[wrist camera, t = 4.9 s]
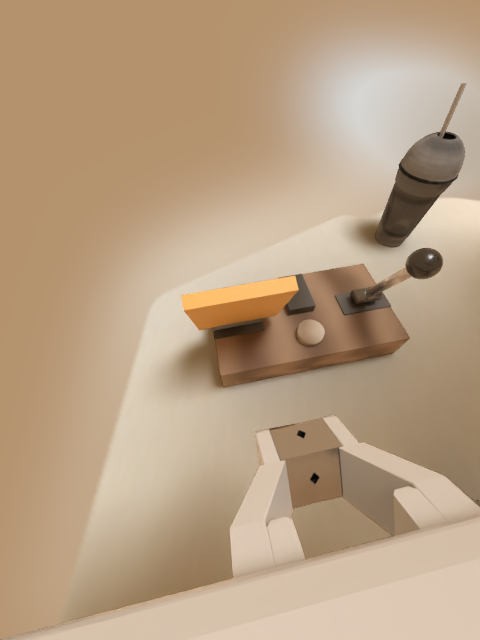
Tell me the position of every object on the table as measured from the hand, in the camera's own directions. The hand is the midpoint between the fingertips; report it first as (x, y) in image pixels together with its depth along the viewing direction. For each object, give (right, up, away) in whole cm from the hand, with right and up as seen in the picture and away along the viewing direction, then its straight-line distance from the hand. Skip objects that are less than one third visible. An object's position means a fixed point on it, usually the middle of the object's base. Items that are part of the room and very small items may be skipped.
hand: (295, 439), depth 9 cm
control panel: (+6, +3, +26) cm, 27 cm away
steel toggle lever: (+13, +7, +22) cm, 27 cm away
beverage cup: (+24, +18, +35) cm, 46 cm away
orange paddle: (-2, +5, +21) cm, 21 cm away
